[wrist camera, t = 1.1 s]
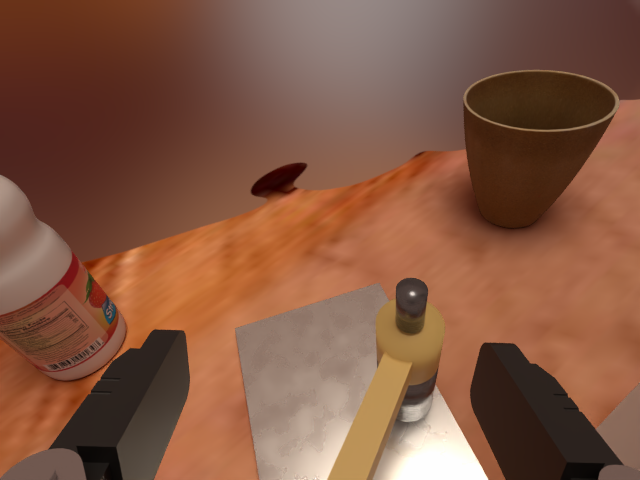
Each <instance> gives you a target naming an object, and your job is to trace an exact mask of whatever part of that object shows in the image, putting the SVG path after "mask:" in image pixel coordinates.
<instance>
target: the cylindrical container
mask: <svg viewBox="0 0 640 480" xmlns="http://www.w3.org/2000/svg"><path fill="white" fill-rule="evenodd" d="M596 431H597V432H598V433H599V434H600V436H601V437H602V438H603V439H604V441H605V442H606V443H607V444H608V446H609V447H610V448H611V449H612V451H613V452H614V453H615V454H616V456H617V457H618V458H619V459H620V461H621V462H622V463H623V464H624V466H628V467H631V468H635V469H637V470H639V471H640V383H639V384H638V385H637V386H636V387H635V388H634V389H633V390H632V391H631V392H630V393H629V394H628V395H627V397H626V398H625V399H624V400H623V401H622V402H621V403H620V404H619V405H618V406H617V407H616V408H615V409H614V410H613V411H612V413H611V414H610V415H609V416H608V417H607V418H606V419H605V420H604V421H603V422H602V423H601V424H600V425H599V426H598V427H597V428H596Z"/></svg>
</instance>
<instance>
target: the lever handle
mask: <svg viewBox="0 0 640 480" xmlns="http://www.w3.org/2000/svg"><path fill="white" fill-rule="evenodd" d="M395 315H396V299H393V300H391V301H389V302H387V303H386V304H385V305H383V306H382V308H381V309H380V310H379V312H378V314H377V316H376V323H375V324H376V350H377V361H378V364H379V366H378V368H377V370H376V372H375V374H374V377H373V379H372V381H371V383H370V385H369V388H368V390H367V392H366V394H365V396H364V399H363V401H362V403H361V405H360V408H359V410H358V412H357V414H356V416H355V419H354V421H353V423H352V425H351V427H350V430H349V432H348V434H347V436H346V438H345V441H344V443H343V445H342V447H341V450H340V452H339V454H338V456H337V458H336V461H335V463H334V465H333V467H332V469H331V472H330V474H329V476H328V478H327V480H373V477H374V475H375V472H376V469H377V467H378V464H379V462H380V459H381V456H382V454H383V451H384V449H385V446H386V443H387V441H388V438H389V436H390V433H391V430H392V428H393V425H394V422H395V420H396V417H397V415H398V412H399V409H400V407H401V404H402V402H403V399H404V396H405V394H406V391H407V389H408V386H409V385H418V384H421V383H424V382H426V381H428V380H429V379H430V378H432V377H433V375H434V374H435V373H436V371H437V369H438V366H439V361H440V356H441V350H442V344H443V339H444V333H445V323H444V320H443V317H442V315H441V313H440V312H439V311H438V310H437V309H436V308H435V307H434V306H433V305H432V304H430V303H429V302H427V305H426V314H425V323H424V327H423V328H422V330H420V331H419V332H417V333H413V334H410V333H405V332H403V331H401V330H400V329H399V328H398V327H397V325H396V322H395Z"/></svg>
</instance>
